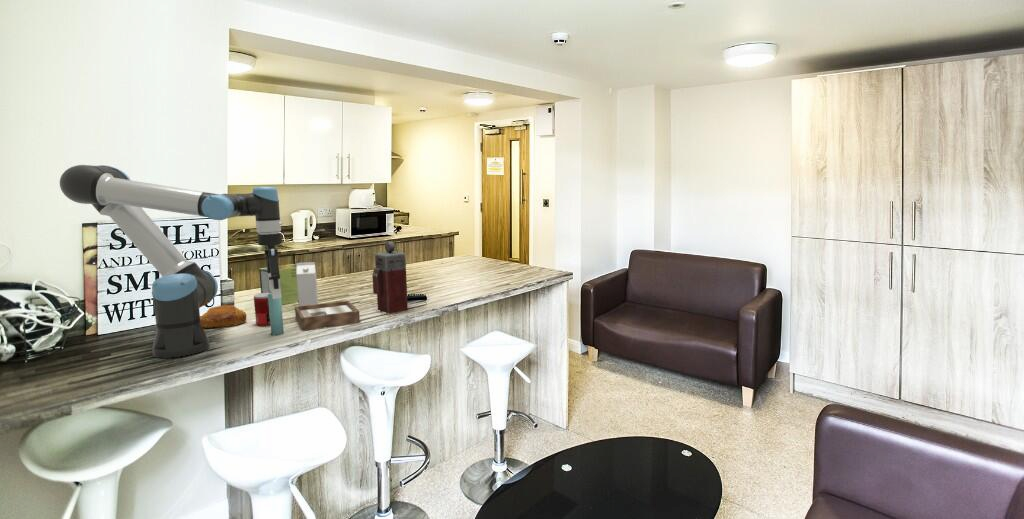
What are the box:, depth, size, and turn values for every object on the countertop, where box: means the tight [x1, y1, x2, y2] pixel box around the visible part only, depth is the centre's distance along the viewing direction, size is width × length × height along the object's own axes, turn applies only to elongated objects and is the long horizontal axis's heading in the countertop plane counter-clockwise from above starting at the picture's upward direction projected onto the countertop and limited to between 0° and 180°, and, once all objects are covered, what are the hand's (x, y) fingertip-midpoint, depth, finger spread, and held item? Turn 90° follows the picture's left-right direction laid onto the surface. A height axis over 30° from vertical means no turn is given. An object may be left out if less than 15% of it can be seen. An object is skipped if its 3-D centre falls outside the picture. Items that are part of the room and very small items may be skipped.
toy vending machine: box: [372, 241, 409, 314], centre depth 211 cm, size 9×11×28 cm
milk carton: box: [295, 261, 319, 306], centre depth 219 cm, size 7×7×19 cm
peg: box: [268, 293, 285, 336], centre depth 182 cm, size 4×4×14 cm
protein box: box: [258, 263, 299, 306], centre depth 230 cm, size 10×15×16 cm
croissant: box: [200, 304, 247, 329], centre depth 197 cm, size 14×16×8 cm
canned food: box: [253, 292, 271, 327], centre depth 195 cm, size 8×8×11 cm
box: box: [294, 300, 361, 331], centre depth 199 cm, size 20×20×4 cm
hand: (275, 294), depth 181 cm, fingers open, 13 cm apart
